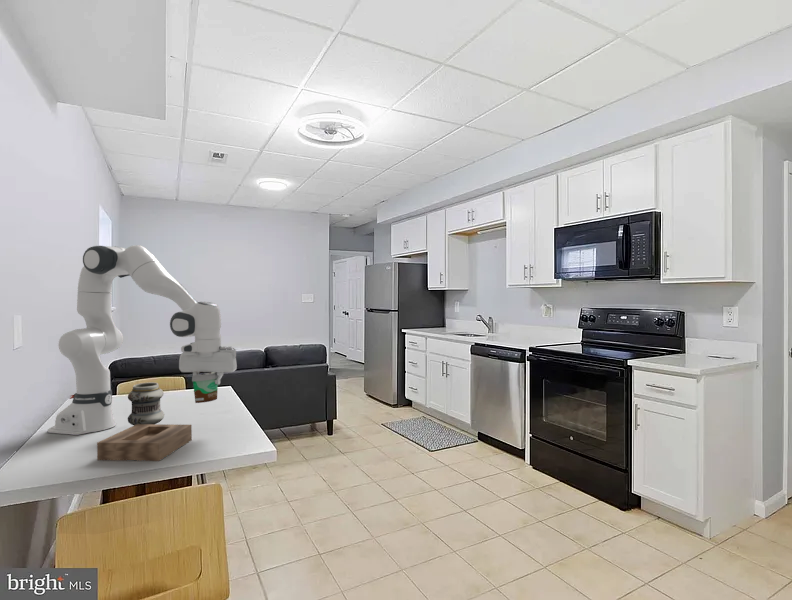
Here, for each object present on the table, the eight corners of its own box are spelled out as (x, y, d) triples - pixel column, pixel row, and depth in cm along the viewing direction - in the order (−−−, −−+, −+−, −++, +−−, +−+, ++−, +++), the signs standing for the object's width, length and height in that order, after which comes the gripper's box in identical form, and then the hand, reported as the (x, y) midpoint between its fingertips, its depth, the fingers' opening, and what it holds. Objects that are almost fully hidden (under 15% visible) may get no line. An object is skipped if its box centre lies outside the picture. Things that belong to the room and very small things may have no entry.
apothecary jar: (137, 439, 164) (135, 389, 164) (122, 433, 172) (121, 385, 171) (170, 430, 174) (169, 383, 174) (155, 425, 181) (154, 380, 181)
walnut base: (97, 460, 144) (97, 442, 144) (136, 439, 164) (136, 424, 164) (159, 460, 143) (159, 443, 143) (191, 440, 163) (191, 424, 163)
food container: (209, 403, 161) (207, 375, 161) (192, 403, 162) (191, 375, 162) (227, 396, 174) (225, 369, 174) (212, 396, 175) (210, 369, 174)
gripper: (239, 345, 170) (239, 382, 171) (185, 345, 171) (185, 382, 172) (232, 347, 164) (232, 386, 164) (176, 347, 165) (176, 385, 165)
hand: (208, 384), depth 168 cm, fingers closed on food container, 5 cm apart
